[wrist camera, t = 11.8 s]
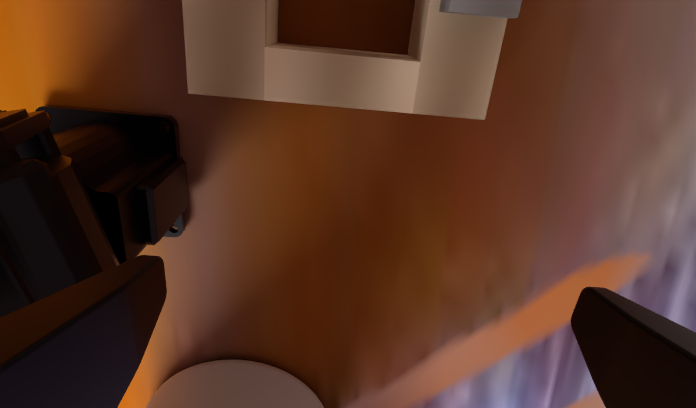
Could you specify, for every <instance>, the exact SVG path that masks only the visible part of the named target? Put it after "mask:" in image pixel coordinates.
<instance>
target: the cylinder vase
mask: <svg viewBox="0 0 696 408" xmlns="http://www.w3.org/2000/svg"><path fill="white" fill-rule="evenodd" d="M146 408H324V407H323V405H322V403H321V401H320V400H319V399H318V397H317V396H316V395H315V393H314V392H313V391H312V390H311V389H310V388H309V387H308V386H307V385H305V384H304V383H303V382H302V381H300V380H299V379H297V378H296V377H294V376H293V375H291V374H289V373H287V372H285V371H283V370H281V369H278V368H276V367H273V366H270V365H267V364H263V363H259V362H254V361H247V360H216V361H210V362H205V363H201V364H197V365H194V366H192V367H189V368H187V369H184V370H182V371H180V372H179V373H177V374H175V375H174V376H172V377H171V378H169V379H168V380H167V381H166V382H164V383H163V384H162V385H161V386H160V387H159V388H158V389H157V391H156V392H155V393H154V394H153V396H152V397H151V399H150V401H149V403H148V405H147V407H146Z"/></svg>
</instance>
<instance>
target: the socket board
mask: <svg viewBox="0 0 696 408" xmlns="http://www.w3.org/2000/svg"><path fill="white" fill-rule="evenodd" d="M521 3H522V0H415V4H414V12H413V19H412V26H411V33H410V40H409V47H408V54H407V55H403V54H392V53H382V52H371V51H361V50H350V49H340V48H329V47H319V46H308V45H298V44H288V43H278V5H279V0H182V8H183V24H184V39H185V54H186V70H187V85H188V94H198V95H209V96H220V97H232V98H243V99H254V100H265V101H277V102H288V103H299V104H310V105H322V106H333V107H344V108H356V109H367V110H378V111H389V112H401V113H412V114H423V115H434V116H446V117H457V118H468V119H479V120H485V117H486V112H487V108H488V103H489V99H490V95H491V90H492V86H493V81H494V77H495V72H496V68H497V64H498V59H499V55H500V50H501V46H502V41H503V37H504V33H505V28H506V24H507V19H508V18H518V16H519V12H520V7H521Z"/></svg>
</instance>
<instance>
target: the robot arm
mask: <svg viewBox="0 0 696 408" xmlns="http://www.w3.org/2000/svg"><path fill="white" fill-rule="evenodd" d="M46 112H47V113H49V114H50V115H51V118H52V119H51V120H49V118H48V116H47V114H46ZM162 122H165V123H167V124H168V125H169V127H170V129H169V130H165V129H164V128H163V126H162ZM188 205H189V203H188V189H187V175H186V162H185V161H184V160H183V158H182V157H180V148H179V135H178V125H177V122H176V121H175V119H174V118H172V117H171V116H168V115H159V114H147V113H136V112H124V111H112V110H101V109H89V108H78V107H66V106H54V105H45V106H42V107H39V108H38V109H36V111H35V112H31V113H27V111H26V109H21V110H14V111H6V110H5V111H1V110H0V408H117V407H118V405H119V403H120V401H121V400H122V398H123V396H124V394H125V392H126V390H127V388H128V386H129V385H130V383H131V381H132V379H133V377H134V375H135V373H136V371H137V369H138V367H139V365H140V363H141V360H142V358H143V356H144V353H145V350H146V348H147V345H148V343H149V340H150V338H151V335H152V333H153V330H154V328H155V325H156V323H157V320H158V317H159V315H160V312H161V310H162V307H163V305H164V302H165V299H166V293H167V289H166V279H165V270H164V262H163V260H162V258H161V257H159V256H148V255H140V256H138V254H139V253H140V252H141V251H142V250H143V249H144V248H145V246H146V245H155V244H156V243H157V242H159V241H160V240H161V238H162V237H163V236H166V237H178V236H180V235H181V234H182V233H183V231H184V230H185V213H184V210H185V209H186V208H187V207H188ZM172 225H176V226H177V227H178V230H176V229H174V228H172ZM137 256H138V257H137ZM571 326H572V330H573V332H574V335H575V337H576V340H577V342H578V345H579V347H580V349H581V352H582V354H583V357H584V359H585V362H586V364H587V367H588V369H589V372H590V374H591V377H592V379H593V381H594V384H595V386H596V388H597V391H598V393H599V395H600V397H601V399H602V401H603V403H604V405H605V407H606V408H696V333H695V332H693V331H691V330H689V329H687V328H685V327H683V326H681V325H679V324H677V323H675V322H673V321H671V320H669V319H667V318H665V317H663V316H661V315H659V314H657V313H655V312H653V311H651V310H649V309H647V308H645V307H643V306H641V305H639V304H637V303H635V302H633V301H631V300H629V299H627V298H625V297H623V296H621V295H619V294H617V293H615V292H613V291H610V290H608V289H606V288H600V287H586V288H584V289H583V290H582V291H581V294H580V296H579V299H578V301H577V304H576V306H575V309H574V312H573V314H572V317H571Z"/></svg>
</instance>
